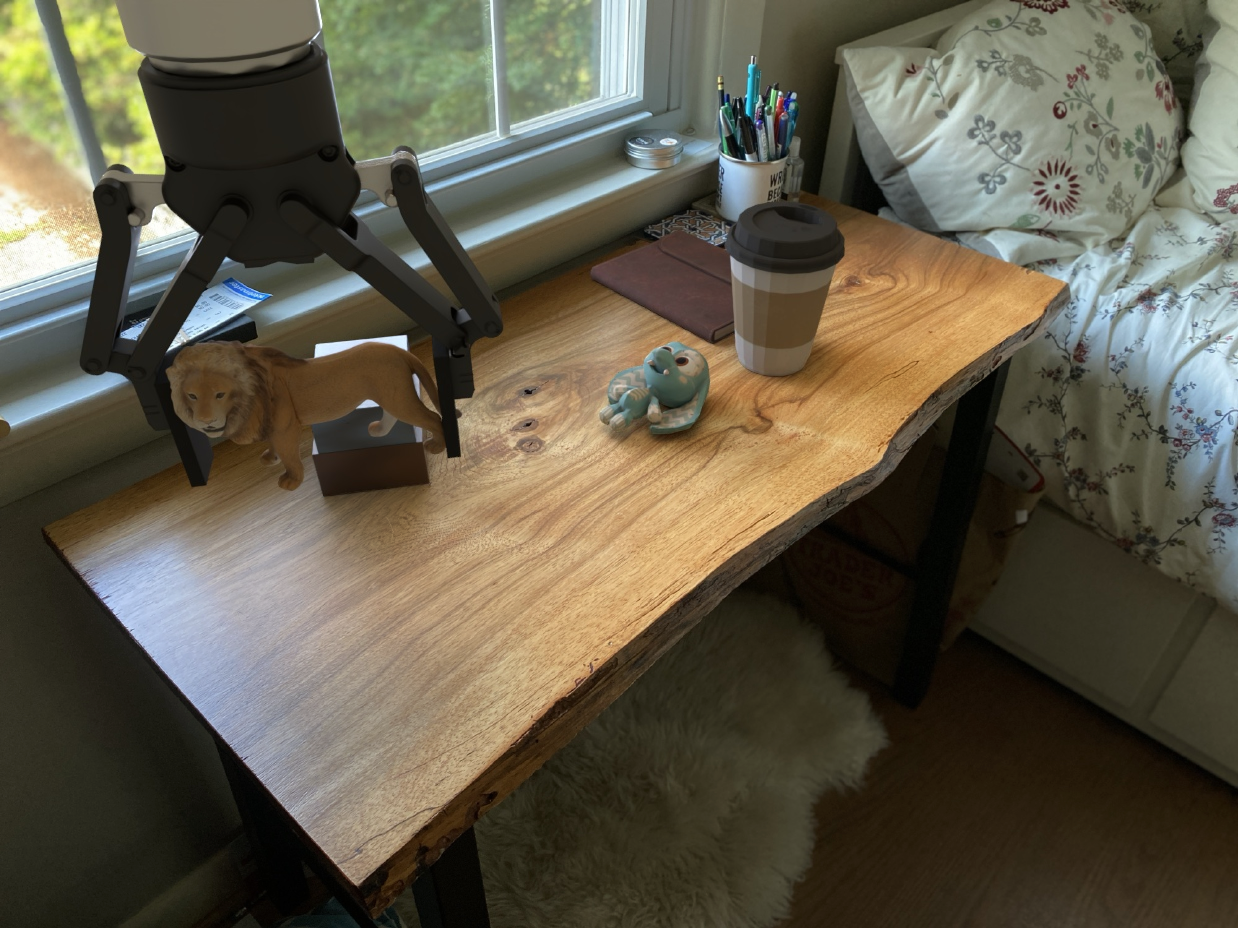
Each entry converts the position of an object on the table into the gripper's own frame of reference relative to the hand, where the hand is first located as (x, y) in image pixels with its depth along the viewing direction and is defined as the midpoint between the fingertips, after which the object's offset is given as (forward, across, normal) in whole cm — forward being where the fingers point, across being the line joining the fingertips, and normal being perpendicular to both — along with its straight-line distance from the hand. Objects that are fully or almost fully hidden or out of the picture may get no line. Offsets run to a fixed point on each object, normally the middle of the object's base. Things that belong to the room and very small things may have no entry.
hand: (330, 457), depth 51 cm
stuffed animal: (+20, -25, -28) cm, 42 cm away
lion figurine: (+1, 0, 0) cm, 1 cm away
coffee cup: (+20, -39, -35) cm, 56 cm away
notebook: (+20, -35, -51) cm, 65 cm away
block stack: (+20, +1, -27) cm, 33 cm away
